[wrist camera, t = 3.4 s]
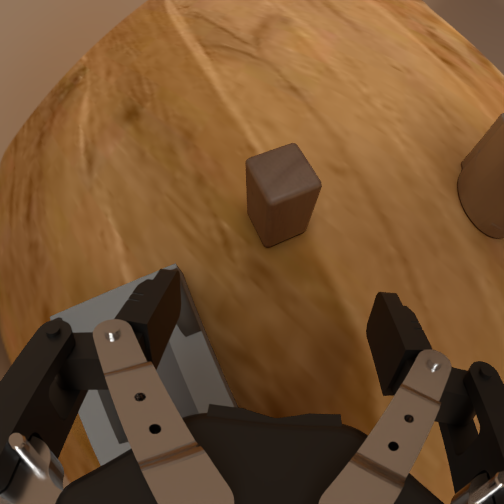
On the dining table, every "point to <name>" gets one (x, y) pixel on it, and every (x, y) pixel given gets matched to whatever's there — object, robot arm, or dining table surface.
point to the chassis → (169, 370)
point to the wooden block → (280, 193)
